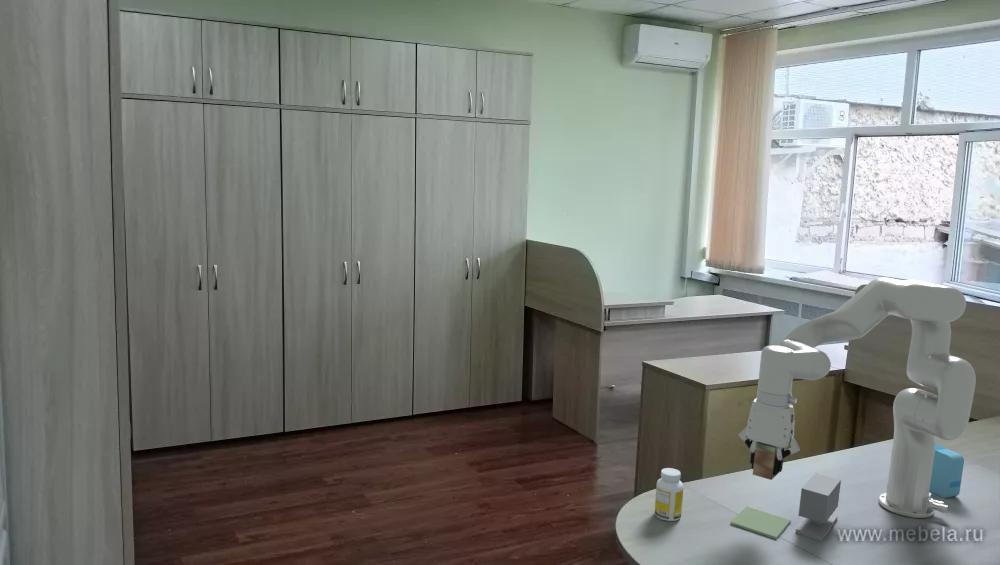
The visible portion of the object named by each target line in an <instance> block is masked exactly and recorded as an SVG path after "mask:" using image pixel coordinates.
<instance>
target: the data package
mask: <svg viewBox="0 0 1000 565" xmlns="http://www.w3.org/2000/svg"><path fill="white" fill-rule="evenodd" d="M964 464H965V459H964V457H963V455H962V454H961V453H959V452H957V451H953V450H951V449H948V448H946V447H943V446H941V445H938V444H936V443H935V455H934V461H933V468H932V475H931V482H930V489H929V493H931V494H934V495H936V496H939V497H941V498H943V499H945V498H953V497H957V496H959V495H960V491H961V484H962V477H963V473H964V472H963V470H964V466H965V465H964Z"/></svg>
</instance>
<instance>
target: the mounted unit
mask: <svg viewBox="0 0 1000 565" xmlns="http://www.w3.org/2000/svg"><path fill="white" fill-rule="evenodd" d="M841 484H842V479H840V478H837V477H833V476H829V475H825V474H823V473H818V472H815V473H813V475H812V476H811V477H809V479H808V480H807V482H805V483H804V485H803V486H802V487H801V491H800V500H799V510H798V516H799V517H802V518H803V520H802V521H801V522H800V524H798V526H797V527H796V528H795V533H796V534H798V535H801V536H805V537H808V538H811V539H813V540H817V541H820V542H822V541H823V540H824V539H825V538H826V536H827V535H828V533H829V532H830V531H829V530H831V529H832V528H833V526H834V525H835V524H836V522H837V521H838V515H835V514H833V513H835V511H836V509H837V508H838V507H839V500H840V491H841ZM836 520H837V521H836ZM834 523H835V524H834ZM831 527H832V528H831Z"/></svg>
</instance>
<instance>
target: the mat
mask: <svg viewBox="0 0 1000 565" xmlns="http://www.w3.org/2000/svg"><path fill="white" fill-rule="evenodd" d="M791 522H792V520H791V519H788V518H785V517H783V516H782V517H781V516H778V515H776V514H772V513H770V512H767V511H763V510H759V509H756V508H753V507H751V506H750V507H749V506H745V507H744V508H743V509H742V510H741V511H740V512H739V513H738V514H737V515H736V516H735V517H734V518H733V519H732V520H731V521H730V525H732V526H734V527H738V528H741V529H744V530H747V531H750V532H753V533H755V532H756V534H759V535H761V534H762V536H764V535H765V537H768V538H771V539H774V540H777V539H779V537H781V535H782V533H783V532H784V531H785V530H786V529H787V528H788V526H789V525H790V524H791ZM785 528H786V529H785Z"/></svg>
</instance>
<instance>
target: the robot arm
mask: <svg viewBox="0 0 1000 565" xmlns="http://www.w3.org/2000/svg"><path fill="white" fill-rule="evenodd" d="M966 307H967V301H966V297H965V295H964V294H963V292H962V291H961V290H959V289H957V288H956V287H952V286H947V285H943V284H939V283H934V282H929V281H925V280H919V279H905V280H902V279H901V280H900V279H896V278H892V277H877V278H874V279H872V280H871V281H870V282H868V283H867V284H866V285H865V286H863V288H861V289H860V290H859V291H858V292H857V293H855V294H853V296H851V297H850V298H849V299H848V300H847V301H846V302H844V303H843V304H842V305H841V306H840V307H838V309H836V310H834V311H832V312H830V313H826V314H824V315H820V316H819V317H816V318H813V319H810V320H807V321H805V322H802V324H799V325H798V326H796V327H795V328H794V329H792V330H791V331H790V332H789V333H788V334H786V335H785V336H784V337H783V338H782V339H780V341H779V342H778V344H776V345H773V344H771V345H766V346H764V347H763V348H762V349H761V354H760V363H759V364H760V365H759V371H758V372H759V374H758V381H757V382H758V383H757V391H756V398H754V400H753V401H752V405H751V407H750V410H749V415H748V420H747V424H746V425H747V426H745V428H743V429H742V431H740V432H739V433H738V437H739V438H740V439H741V440H742V441H743V442H744V443H745V445H746V446H747V448H748V449H749V452H750V458H749V459H750V460H749V463H750V465H751V469H752V470H753V466H754V457H755V447H756V443H757V442H759V443H763V444H766V445H770V446H774V447H776V454H777V456H776V459H775V461H774V470H773V474H774V475H776V476H777V475H778V474H779V473H781V472H782V471H783V464H784V459H786V458H787V457H788V456H790V455H792V454H795V453H798V452H799V451H800V450H801V447H800V445H799V443H798V442H797V440H796V439H795V409H794V406H793V404H797V401H798V399H797V397H794V396H793V393H792V388H793V381H794V379H800V380H807V381H816V380H817V381H818V380H821V379H823V378H825V377H826V376H827V375H828V374H829V372H830V370H831V367H832V366H831V365H832V362H831V359H830V358H829V356H828V355H827V354H826V353H825V352H824V351H822V350H820V349H818V348H816V347H817V346H821V345H822V344H827V343H833V342H841V341H842V342H843V341H854V340H857V339H861V338H864V337H865V336H866V335H867V333H869V332H870V331H871V330H872V329H874V328H875V327H876V326H877V325H878V324H880V323H881V322H882V321H883V320H885V318H887V317H888V316H895V317H899V318H903V319H907V320H910V323H911V340H910V345H909V352H908V357H907V362H906V363H907V364H906V376H907V377H908V379H909V380H910V381H912V382H913V383H915V384H917V385H919V386H922V387H924V388H927V389H930V390H933V391H935V392H937V394H935V393H933V392H929V391H927V390H924V389H921V388H915V387H909V388H908V387H907V388H905V389H901V391H899V392H898V393H897V394H896V396H895V398H894V401H893V404H892V405H893V407H892V411H893V412H892V413H893V425H894V426H893V428H894V429H893V430H894V431H893V441H892V447H891V448H892V449H891V455H890V463H889V471H888V476H887V477H888V478H887V485H886V492H884V493H882V494H881V493H880V495H879V496H878V503H879V504H880V505H881V506H882V507H883V508H885V509H886V510H887V511H889V512H892V513H894V514H897V515H900V516H904V517H907V518H914V519H924V518H929V517H933V515H934V512H935V511H938V512H940V513H944V514H947V513H948V510H949V506H948V505H946V504H944V501H941V500H936V499H934V498H932V492H930V491H929V489H930V482H931V475H932V468H933V461H934V455H935V444H936V439H935V437H937V438H940V439H942V440H947V441H954V440H957V439H959V438H960V437H961V436H962V435H963V434H964V433H965V431H966V429H967V427H968V425H969V420H970V416H971V412H972V408H973V407H972V406H973V401H974V395H975V392H976V391H975V389H976V383H977V376H976V372H975V369H974V367H973V366H972V364H971V363H970V362H968V361H967V360H966V359H963V358H961V357H958V356H954V355H951V354H950V347H951V339H952V328H951V324H950V323H952V322H954V321H956V320H958V319H959V318H961V316H963V314H964V313H965V311H966ZM789 445H790V448H788V447H789Z"/></svg>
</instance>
